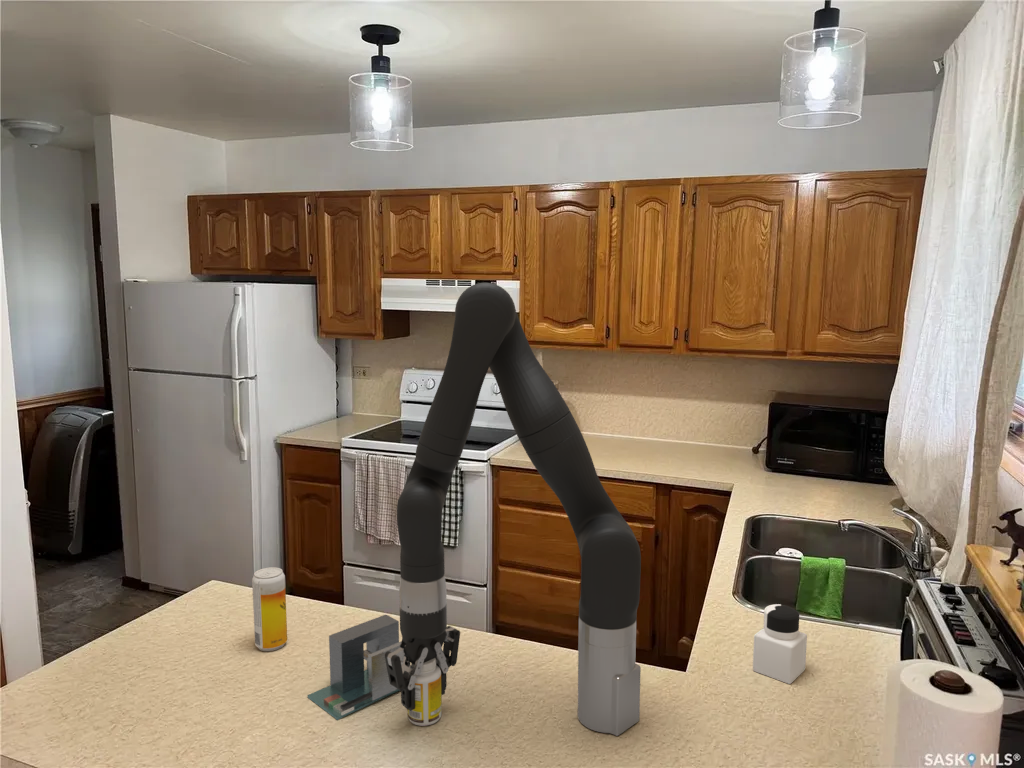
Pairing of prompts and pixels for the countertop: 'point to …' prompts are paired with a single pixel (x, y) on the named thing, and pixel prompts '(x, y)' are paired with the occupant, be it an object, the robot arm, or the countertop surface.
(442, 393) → the robot arm
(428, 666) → the supplement bottle
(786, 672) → the medicine bottle
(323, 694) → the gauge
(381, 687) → the grey plate with rod
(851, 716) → the countertop surface
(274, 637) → the beer can
